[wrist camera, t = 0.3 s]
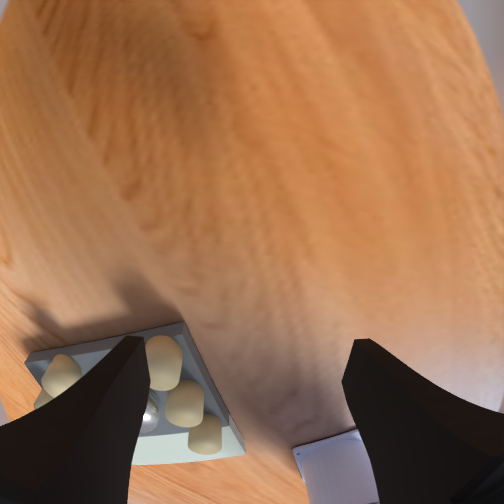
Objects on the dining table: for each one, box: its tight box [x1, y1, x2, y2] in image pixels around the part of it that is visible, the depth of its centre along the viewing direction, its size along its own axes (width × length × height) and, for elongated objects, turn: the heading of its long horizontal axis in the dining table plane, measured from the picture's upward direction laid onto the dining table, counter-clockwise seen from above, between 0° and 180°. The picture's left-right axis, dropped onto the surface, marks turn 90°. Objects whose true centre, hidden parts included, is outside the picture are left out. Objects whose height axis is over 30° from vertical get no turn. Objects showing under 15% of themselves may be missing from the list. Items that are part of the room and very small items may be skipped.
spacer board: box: [24, 321, 246, 465], centre depth 21 cm, size 15×15×4 cm
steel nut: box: [140, 388, 161, 433], centre depth 20 cm, size 4×4×2 cm
